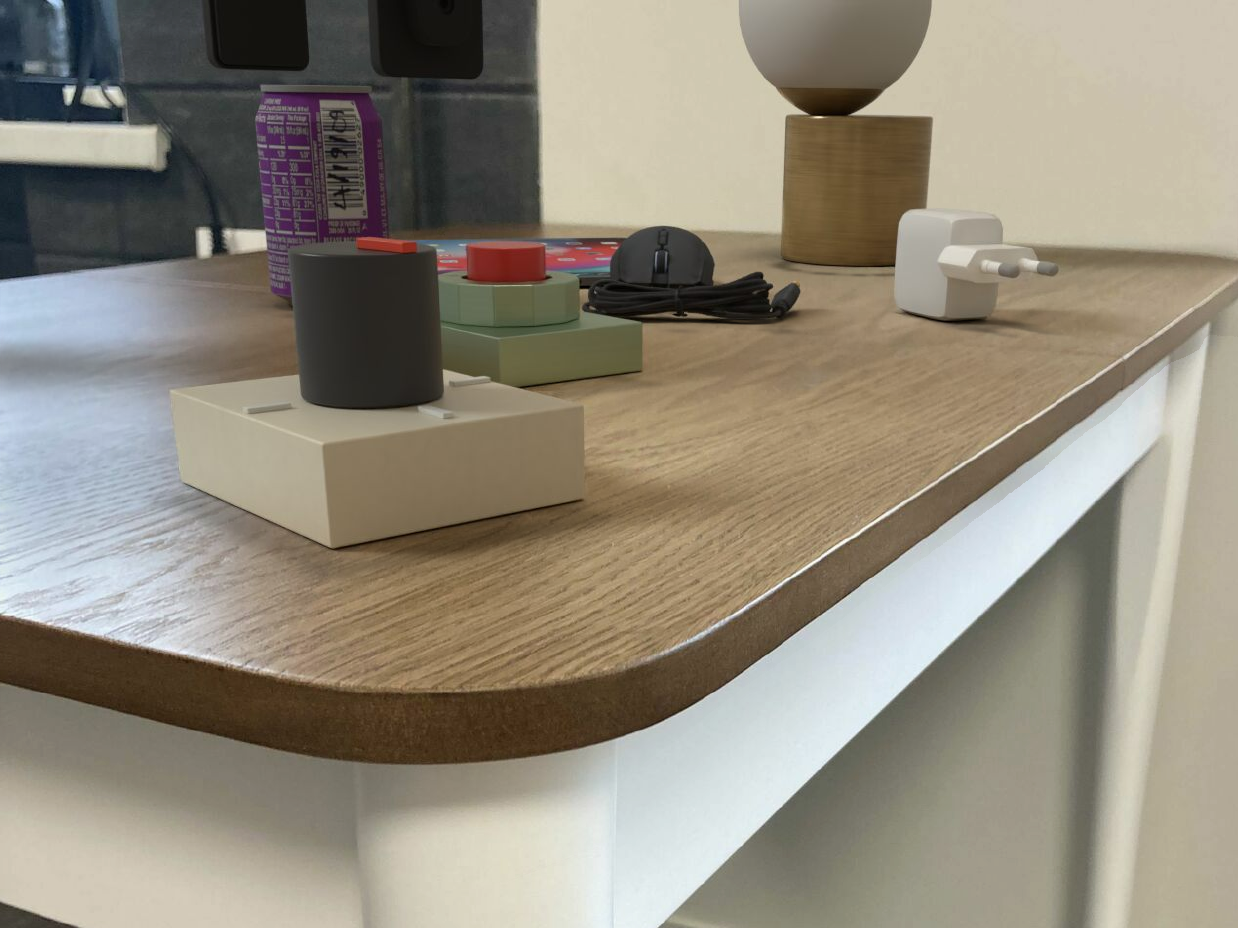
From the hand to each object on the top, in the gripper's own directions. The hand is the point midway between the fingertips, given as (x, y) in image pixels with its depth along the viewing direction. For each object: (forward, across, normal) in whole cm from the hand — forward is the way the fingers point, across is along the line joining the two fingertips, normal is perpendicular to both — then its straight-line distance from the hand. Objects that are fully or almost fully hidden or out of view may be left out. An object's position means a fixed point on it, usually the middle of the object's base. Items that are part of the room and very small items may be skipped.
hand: (337, 73), depth 43 cm
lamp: (+13, +41, -65) cm, 78 cm away
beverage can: (+13, +40, -21) cm, 47 cm away
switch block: (+12, +16, -17) cm, 27 cm away
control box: (+12, -1, 0) cm, 12 cm away
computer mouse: (+13, +27, -39) cm, 49 cm away
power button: (+9, +16, -17) cm, 25 cm away
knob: (+9, -1, 0) cm, 9 cm away
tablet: (+13, +49, -43) cm, 67 cm away
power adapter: (+12, +12, -46) cm, 50 cm away
